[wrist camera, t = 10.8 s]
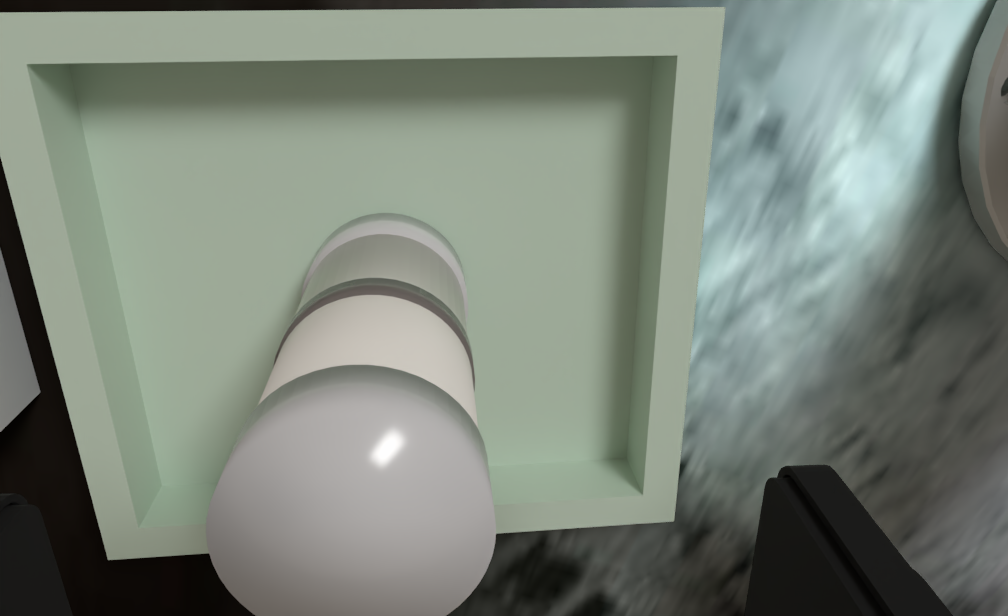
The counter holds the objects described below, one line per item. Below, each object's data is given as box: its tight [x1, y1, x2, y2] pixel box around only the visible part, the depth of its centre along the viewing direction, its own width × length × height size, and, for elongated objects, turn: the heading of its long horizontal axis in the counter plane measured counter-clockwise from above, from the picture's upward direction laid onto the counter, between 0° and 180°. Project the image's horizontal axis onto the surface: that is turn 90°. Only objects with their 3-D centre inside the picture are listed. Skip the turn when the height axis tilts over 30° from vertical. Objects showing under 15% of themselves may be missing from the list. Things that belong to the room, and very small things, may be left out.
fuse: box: [206, 213, 496, 616], centre depth 15 cm, size 4×4×10 cm
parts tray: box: [0, 7, 725, 560], centre depth 19 cm, size 16×14×2 cm
